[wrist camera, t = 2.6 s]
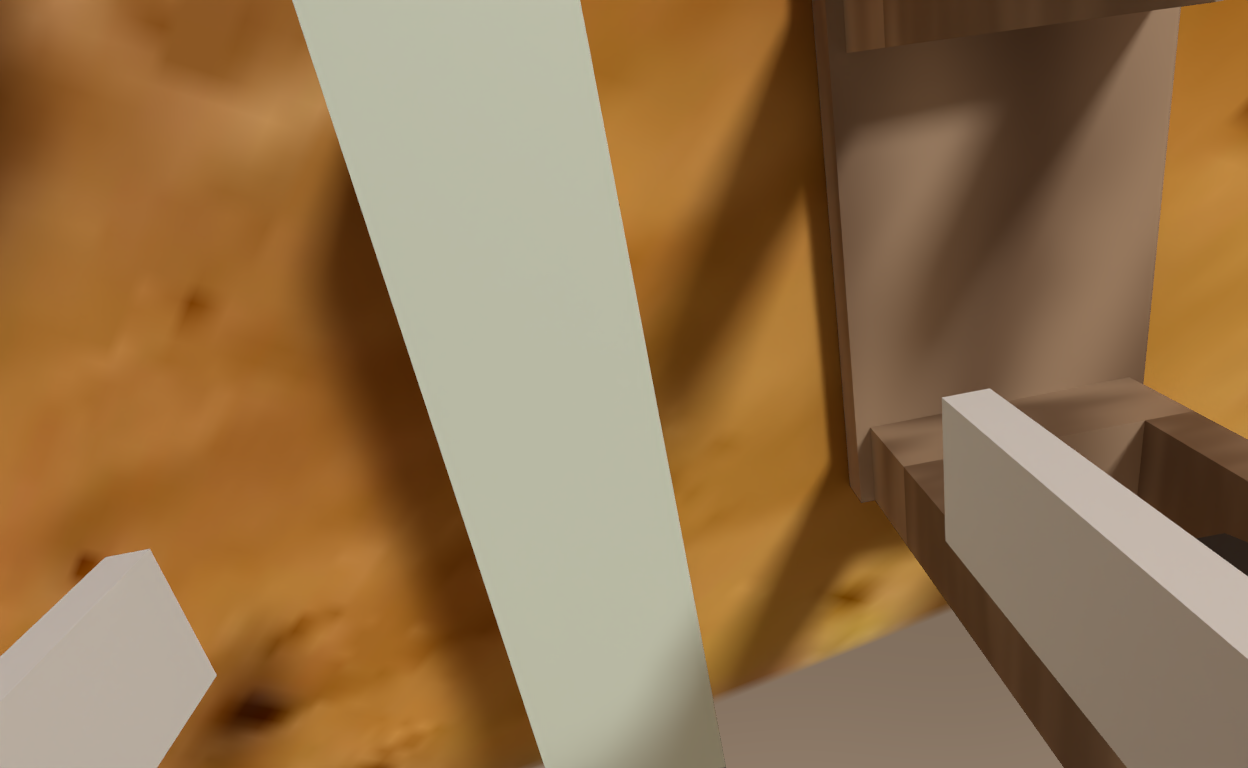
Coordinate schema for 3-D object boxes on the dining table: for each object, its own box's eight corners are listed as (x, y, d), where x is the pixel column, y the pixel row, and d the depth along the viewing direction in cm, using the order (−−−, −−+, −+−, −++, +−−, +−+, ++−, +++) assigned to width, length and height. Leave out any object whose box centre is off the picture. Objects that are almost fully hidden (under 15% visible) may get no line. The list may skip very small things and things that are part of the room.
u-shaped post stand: (849, 485, 27) (1092, 848, 14) (807, -57, 20) (1204, -316, 7) (1113, 435, 27) (1605, 757, 14) (1161, -132, 20) (2225, -538, 7)
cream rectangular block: (568, 574, 28) (560, 813, 19) (402, -38, 20) (243, -148, 11) (681, 553, 28) (729, 783, 19) (560, -72, 20) (539, -212, 11)
